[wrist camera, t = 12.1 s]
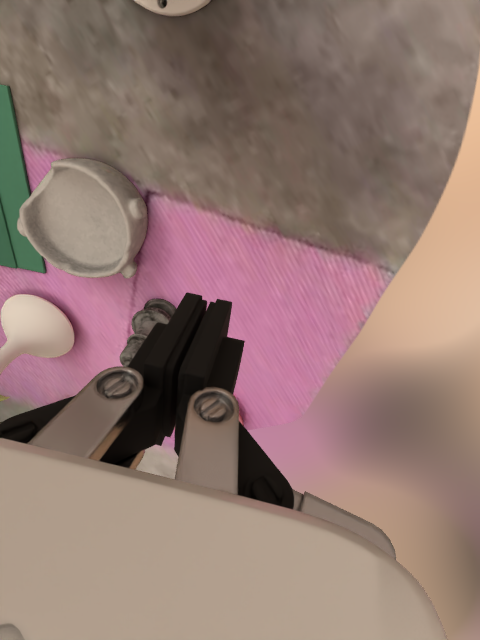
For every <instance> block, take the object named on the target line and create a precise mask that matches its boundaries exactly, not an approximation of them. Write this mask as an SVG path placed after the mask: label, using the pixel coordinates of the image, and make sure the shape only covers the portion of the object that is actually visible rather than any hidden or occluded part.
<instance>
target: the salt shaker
mask: <svg viewBox="0 0 480 640" xmlns="http://www.w3.org/2000/svg"><path fill="white" fill-rule="evenodd" d="M175 311H176V308H175V307H174V306H173V305H172V304H171V303H170V302H168V301H166V300H163V299H152V300H150V301H148V302H147V303H146V304H145V307H144V310H141V311H139V312H137V313H136V314H135V315H134V316H133V319H132V329H133V331H134V333H135V334H133V335H131V336H130V337H129V338H128V340H127V344H128V345H127V346H126V347H125V349H124V350H123V351H122V353H121V355H120V361H121V364H122V365H123V366H124V367H127V366H128V365H129V363H130V362H131V360H132V359H133V357H134V356H135V354H136V353H137V351H138V350H139V348H140V347H141V345H142V344H143V342H144V341H145V339H146V338H147V336H148V335H149V333H150V332H151V330H152V329H153V327H154V326H155V324H156V323H158V322H160V323H164V324H168V322H169V321H170V319H171V317H172V316H173V314H174V312H175Z"/></svg>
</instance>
